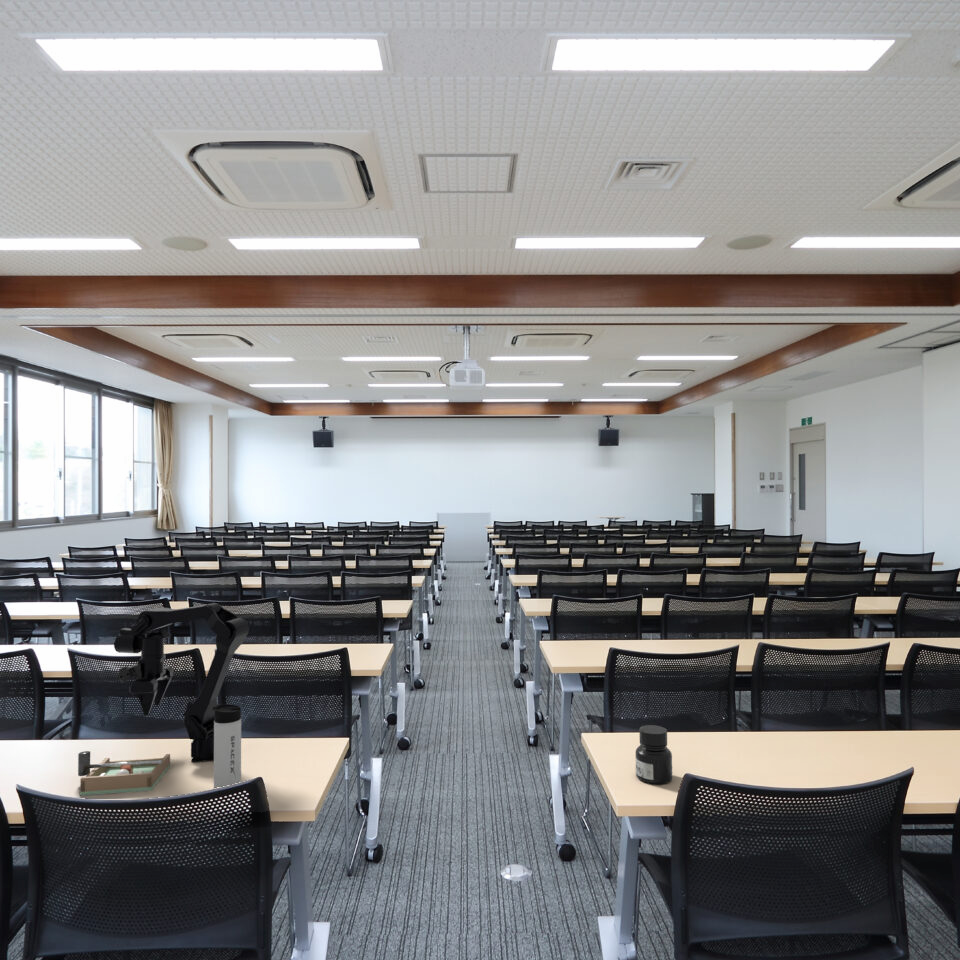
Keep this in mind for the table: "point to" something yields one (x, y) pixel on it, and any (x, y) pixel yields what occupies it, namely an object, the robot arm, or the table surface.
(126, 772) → the ball
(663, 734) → the ink bottle
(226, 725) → the travel mug
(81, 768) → the rubber mallet
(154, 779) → the pitch
